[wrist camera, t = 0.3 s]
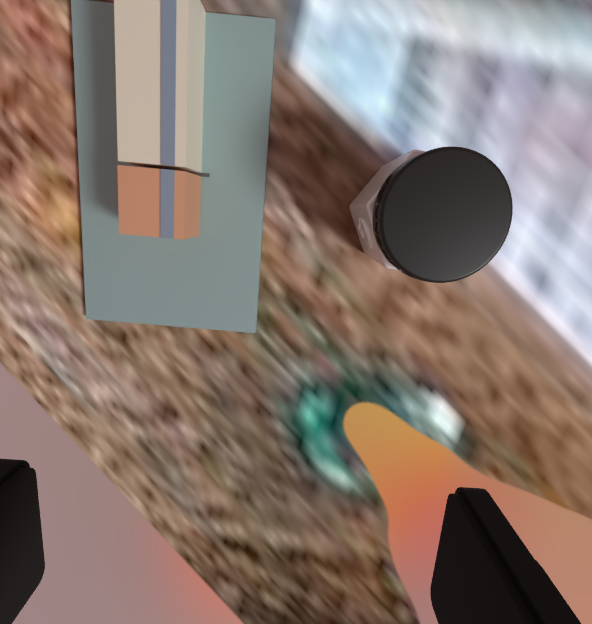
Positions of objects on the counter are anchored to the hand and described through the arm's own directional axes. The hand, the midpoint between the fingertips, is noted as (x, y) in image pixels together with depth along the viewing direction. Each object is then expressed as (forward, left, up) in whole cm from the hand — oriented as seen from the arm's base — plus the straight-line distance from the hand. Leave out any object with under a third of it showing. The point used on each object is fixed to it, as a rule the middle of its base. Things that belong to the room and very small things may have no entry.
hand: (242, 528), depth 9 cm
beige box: (-15, -10, -29) cm, 34 cm away
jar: (-7, +10, -30) cm, 32 cm away
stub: (-7, -10, -29) cm, 31 cm away
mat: (-8, -10, -29) cm, 32 cm away
